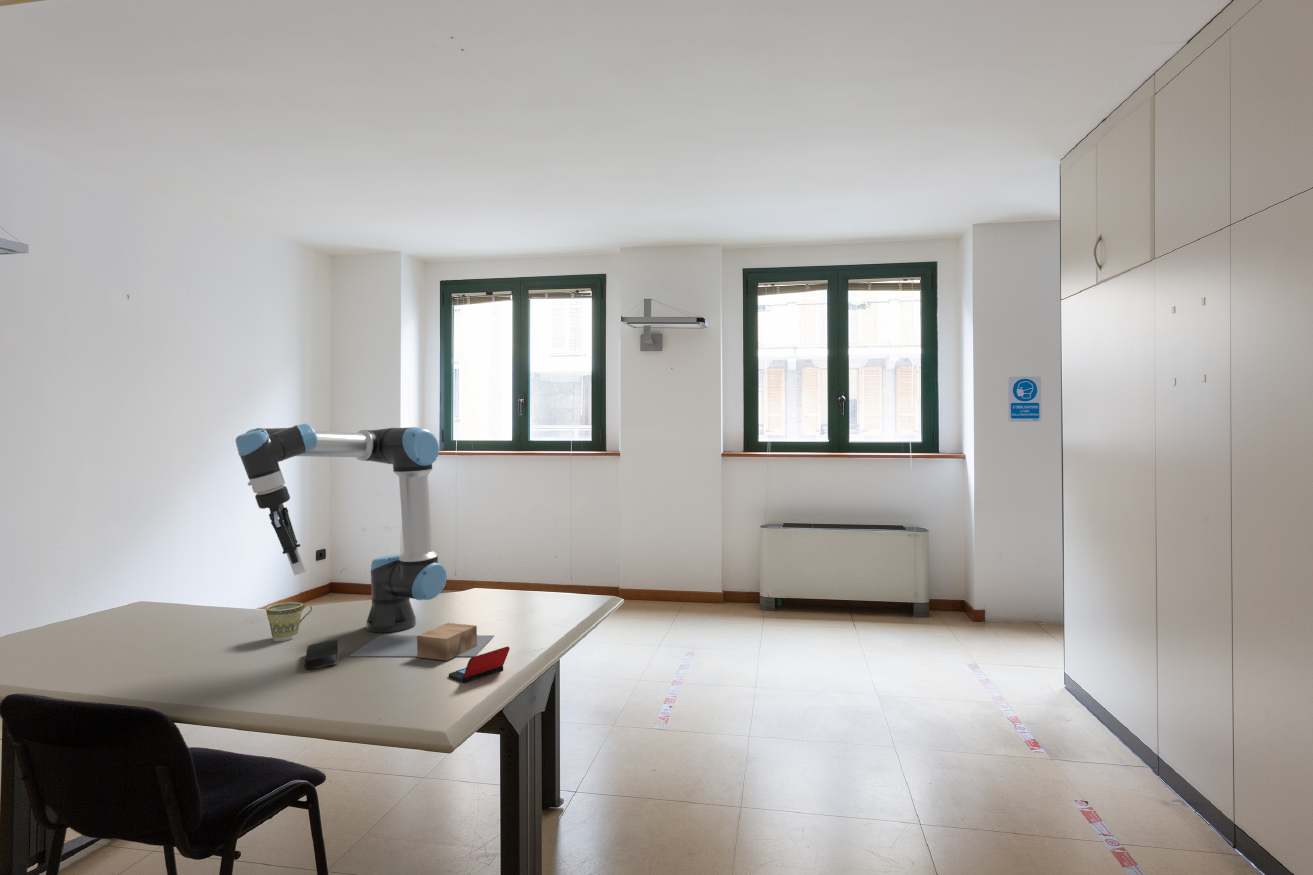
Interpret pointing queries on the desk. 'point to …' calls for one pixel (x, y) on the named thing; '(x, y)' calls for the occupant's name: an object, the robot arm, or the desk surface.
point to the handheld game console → (481, 666)
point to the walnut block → (446, 641)
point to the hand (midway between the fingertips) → (300, 572)
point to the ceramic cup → (285, 620)
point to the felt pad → (407, 646)
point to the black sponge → (322, 654)
